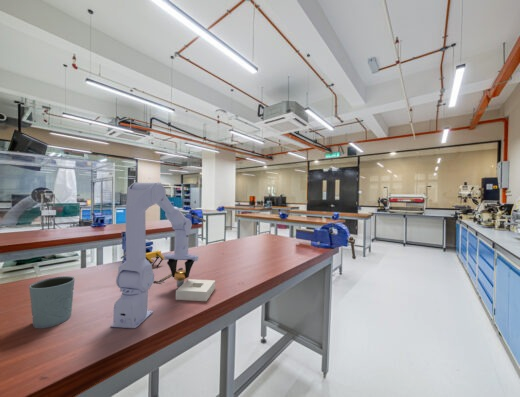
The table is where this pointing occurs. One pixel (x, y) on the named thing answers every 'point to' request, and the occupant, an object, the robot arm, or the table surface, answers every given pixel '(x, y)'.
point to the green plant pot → (51, 301)
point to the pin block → (195, 290)
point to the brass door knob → (179, 277)
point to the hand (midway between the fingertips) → (180, 276)
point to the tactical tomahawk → (166, 277)
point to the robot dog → (154, 254)
